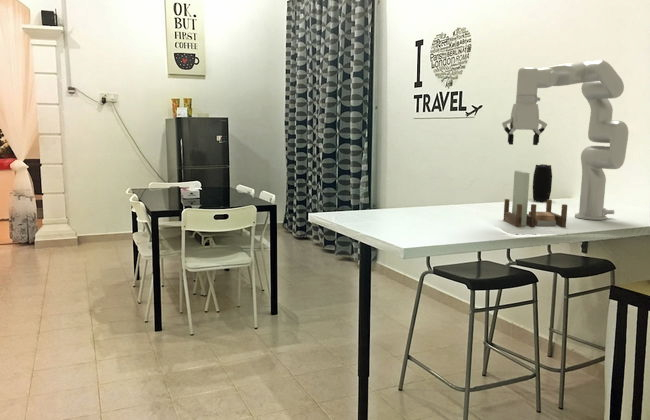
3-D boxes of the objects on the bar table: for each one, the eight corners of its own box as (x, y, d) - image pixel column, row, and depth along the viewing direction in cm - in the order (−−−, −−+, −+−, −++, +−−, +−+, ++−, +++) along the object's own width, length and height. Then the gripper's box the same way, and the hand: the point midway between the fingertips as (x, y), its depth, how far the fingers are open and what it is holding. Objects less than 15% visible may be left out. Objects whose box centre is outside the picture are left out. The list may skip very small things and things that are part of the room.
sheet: (516, 224, 230) (519, 170, 227) (525, 229, 219) (529, 173, 216) (511, 224, 230) (514, 170, 227) (520, 229, 219) (524, 173, 216)
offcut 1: (547, 216, 229) (547, 211, 229) (554, 220, 219) (554, 215, 219) (528, 216, 230) (528, 211, 229) (534, 220, 220) (535, 215, 220)
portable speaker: (553, 202, 296) (556, 165, 293) (536, 202, 295) (538, 165, 292) (545, 200, 304) (547, 164, 301) (528, 200, 303) (531, 164, 300)
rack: (548, 223, 233) (550, 199, 231) (565, 230, 217) (567, 204, 216) (503, 222, 233) (504, 199, 231) (516, 230, 217) (518, 204, 215)
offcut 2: (544, 221, 230) (544, 216, 229) (555, 225, 220) (556, 220, 219) (526, 221, 229) (527, 216, 229) (537, 225, 219) (537, 220, 219)
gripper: (544, 101, 221) (541, 144, 224) (500, 100, 221) (498, 144, 223) (552, 100, 214) (548, 145, 216) (507, 99, 213) (504, 144, 216)
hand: (523, 144), depth 220 cm, fingers open, 9 cm apart
